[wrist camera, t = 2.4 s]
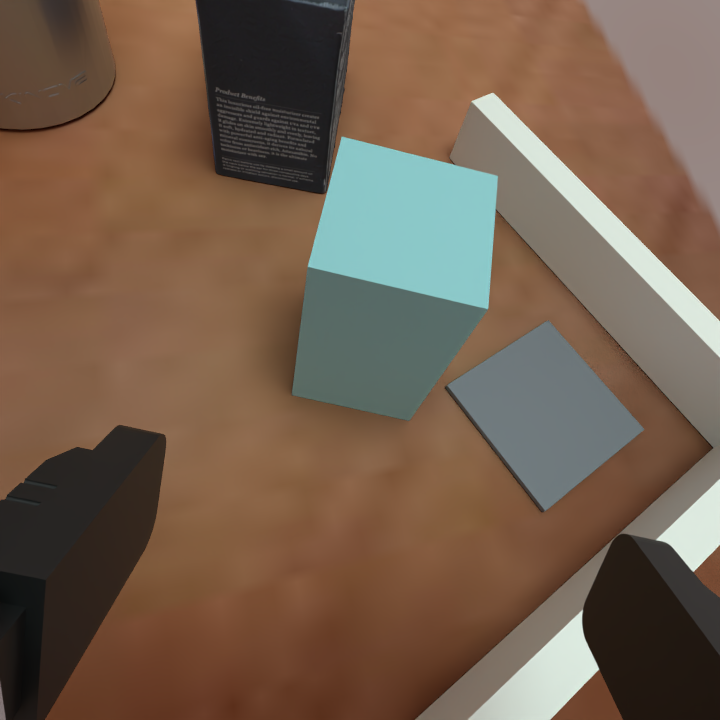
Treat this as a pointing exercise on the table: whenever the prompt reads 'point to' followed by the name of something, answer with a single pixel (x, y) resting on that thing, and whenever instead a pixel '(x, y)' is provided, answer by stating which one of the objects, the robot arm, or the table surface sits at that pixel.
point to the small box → (275, 86)
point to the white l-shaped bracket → (578, 403)
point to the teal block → (393, 278)
